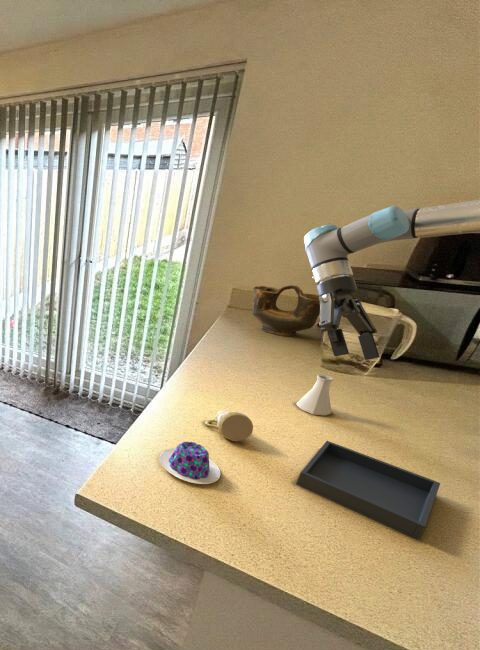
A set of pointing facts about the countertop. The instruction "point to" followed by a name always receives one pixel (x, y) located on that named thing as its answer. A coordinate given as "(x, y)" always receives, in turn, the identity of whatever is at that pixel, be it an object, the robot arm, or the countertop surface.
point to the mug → (232, 425)
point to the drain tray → (371, 488)
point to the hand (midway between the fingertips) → (357, 357)
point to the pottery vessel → (280, 319)
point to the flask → (317, 397)
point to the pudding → (190, 463)
